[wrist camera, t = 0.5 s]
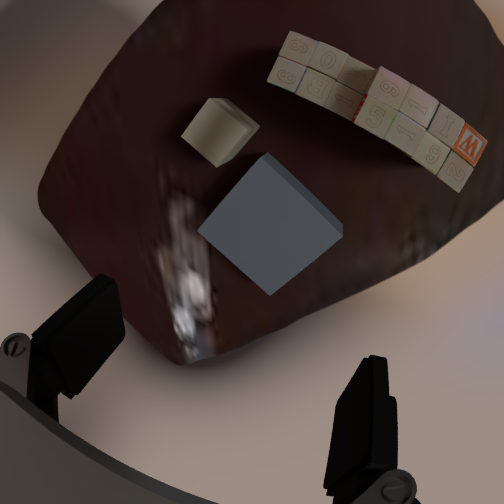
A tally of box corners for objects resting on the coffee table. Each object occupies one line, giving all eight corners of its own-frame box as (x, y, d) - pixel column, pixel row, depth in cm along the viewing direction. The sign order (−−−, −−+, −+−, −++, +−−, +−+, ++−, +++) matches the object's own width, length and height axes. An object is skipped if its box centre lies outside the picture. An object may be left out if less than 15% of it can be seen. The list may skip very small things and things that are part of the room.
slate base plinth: (208, 220, 45) (196, 230, 42) (267, 152, 38) (260, 157, 35) (275, 281, 47) (269, 295, 44) (342, 224, 40) (342, 236, 36)
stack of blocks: (281, 86, 34) (256, 78, 23) (301, 45, 30) (284, 20, 20) (426, 168, 33) (460, 195, 22) (447, 129, 30) (489, 142, 19)
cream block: (201, 131, 39) (181, 136, 34) (227, 98, 36) (209, 98, 31) (232, 158, 40) (216, 167, 35) (260, 126, 37) (247, 130, 32)
